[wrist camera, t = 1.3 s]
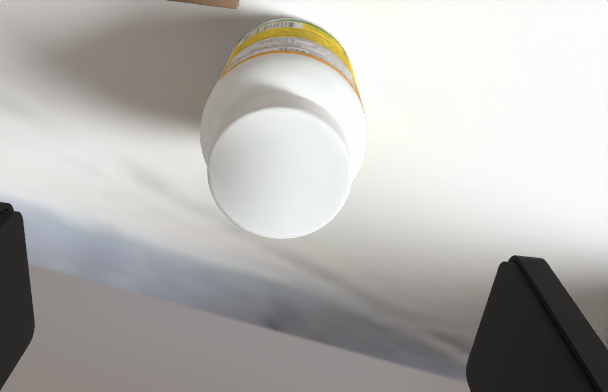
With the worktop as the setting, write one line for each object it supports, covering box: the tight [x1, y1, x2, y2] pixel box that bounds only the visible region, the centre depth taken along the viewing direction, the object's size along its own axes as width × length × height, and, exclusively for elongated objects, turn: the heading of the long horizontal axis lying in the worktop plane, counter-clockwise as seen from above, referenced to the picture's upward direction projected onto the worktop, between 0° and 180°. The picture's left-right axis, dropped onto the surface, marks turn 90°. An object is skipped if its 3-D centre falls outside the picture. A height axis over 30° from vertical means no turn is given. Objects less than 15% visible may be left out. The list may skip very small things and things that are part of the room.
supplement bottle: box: [200, 18, 367, 239], centre depth 21 cm, size 6×6×10 cm
